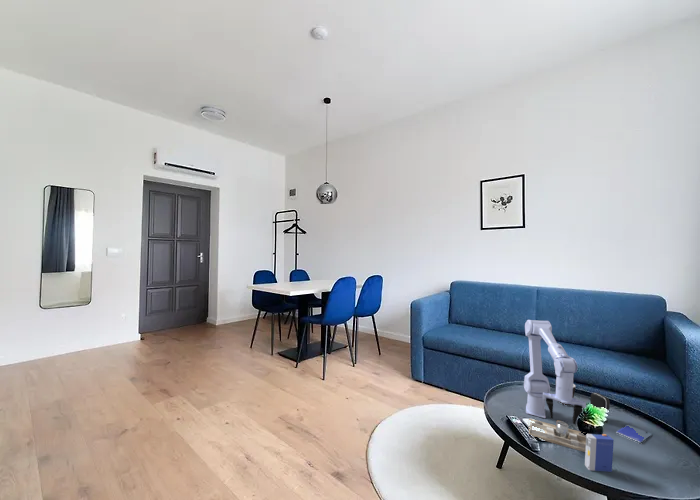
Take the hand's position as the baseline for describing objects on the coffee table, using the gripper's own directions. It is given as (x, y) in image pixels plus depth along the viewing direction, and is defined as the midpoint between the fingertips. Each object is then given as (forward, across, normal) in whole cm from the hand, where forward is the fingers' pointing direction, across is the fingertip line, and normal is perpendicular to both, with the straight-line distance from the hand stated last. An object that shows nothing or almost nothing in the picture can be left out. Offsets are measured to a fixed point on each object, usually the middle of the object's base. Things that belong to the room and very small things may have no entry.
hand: (562, 420), depth 131 cm
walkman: (+9, +10, -13) cm, 19 cm away
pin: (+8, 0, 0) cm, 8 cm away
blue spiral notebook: (+9, +28, +23) cm, 37 cm away
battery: (+9, +17, +30) cm, 36 cm away
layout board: (+8, 0, +3) cm, 9 cm away
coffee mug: (+9, +4, +38) cm, 39 cm away
